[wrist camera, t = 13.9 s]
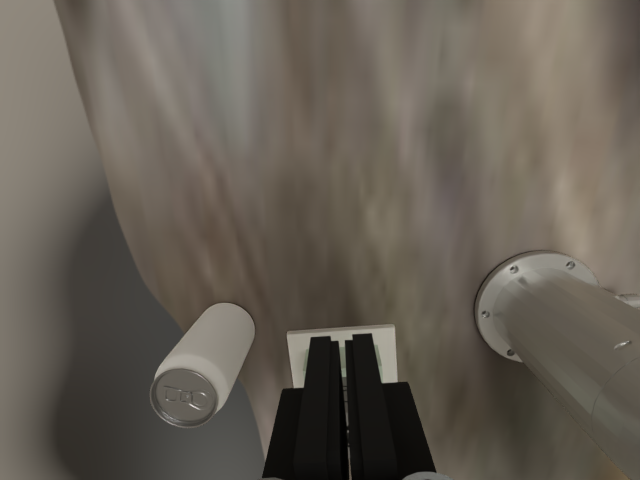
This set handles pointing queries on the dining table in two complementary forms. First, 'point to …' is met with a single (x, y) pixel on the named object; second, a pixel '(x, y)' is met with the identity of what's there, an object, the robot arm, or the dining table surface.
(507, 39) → the dining table surface
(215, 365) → the can
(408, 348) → the dining table surface
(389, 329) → the baseplate
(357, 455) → the robot arm
